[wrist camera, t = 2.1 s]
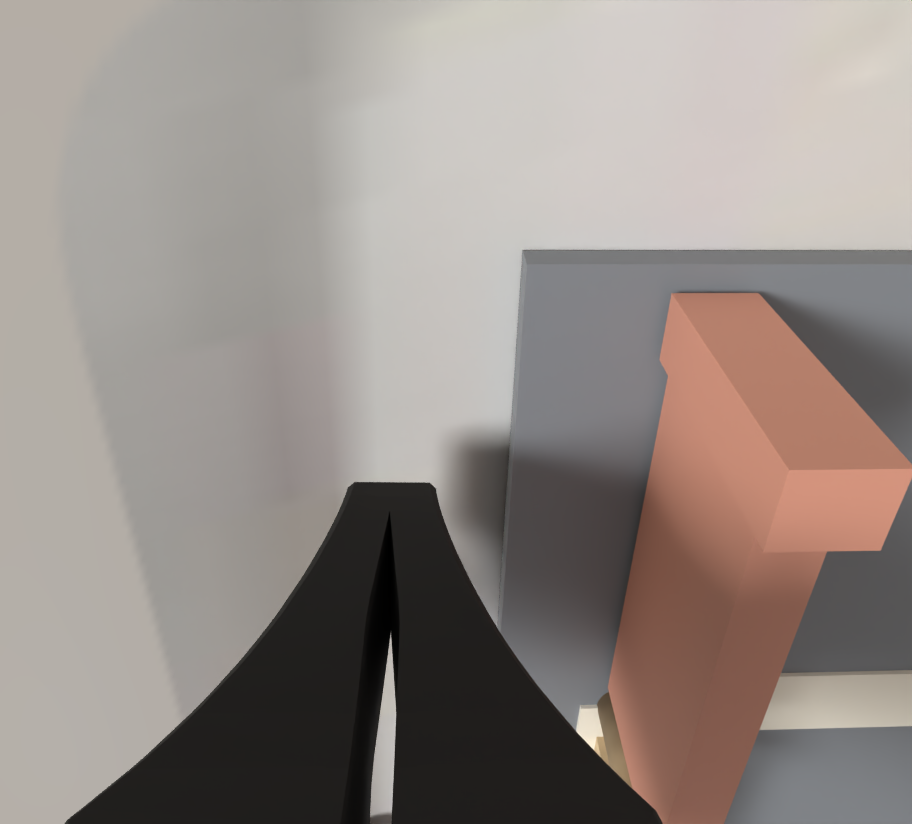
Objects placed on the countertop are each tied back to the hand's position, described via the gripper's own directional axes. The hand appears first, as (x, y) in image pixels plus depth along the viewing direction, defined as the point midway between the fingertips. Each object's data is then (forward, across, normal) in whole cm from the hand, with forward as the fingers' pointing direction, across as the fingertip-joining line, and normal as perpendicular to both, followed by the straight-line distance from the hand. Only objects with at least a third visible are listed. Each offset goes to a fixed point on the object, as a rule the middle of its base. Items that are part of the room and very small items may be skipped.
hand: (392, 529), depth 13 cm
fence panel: (+1, -5, +1) cm, 5 cm away
